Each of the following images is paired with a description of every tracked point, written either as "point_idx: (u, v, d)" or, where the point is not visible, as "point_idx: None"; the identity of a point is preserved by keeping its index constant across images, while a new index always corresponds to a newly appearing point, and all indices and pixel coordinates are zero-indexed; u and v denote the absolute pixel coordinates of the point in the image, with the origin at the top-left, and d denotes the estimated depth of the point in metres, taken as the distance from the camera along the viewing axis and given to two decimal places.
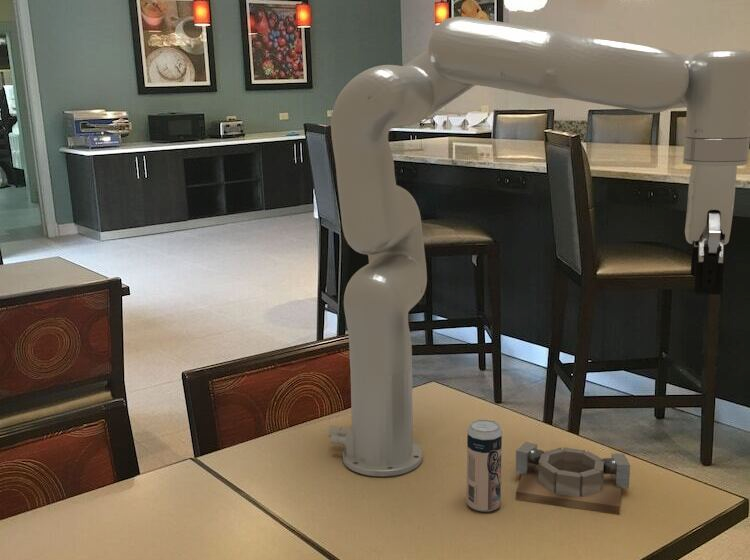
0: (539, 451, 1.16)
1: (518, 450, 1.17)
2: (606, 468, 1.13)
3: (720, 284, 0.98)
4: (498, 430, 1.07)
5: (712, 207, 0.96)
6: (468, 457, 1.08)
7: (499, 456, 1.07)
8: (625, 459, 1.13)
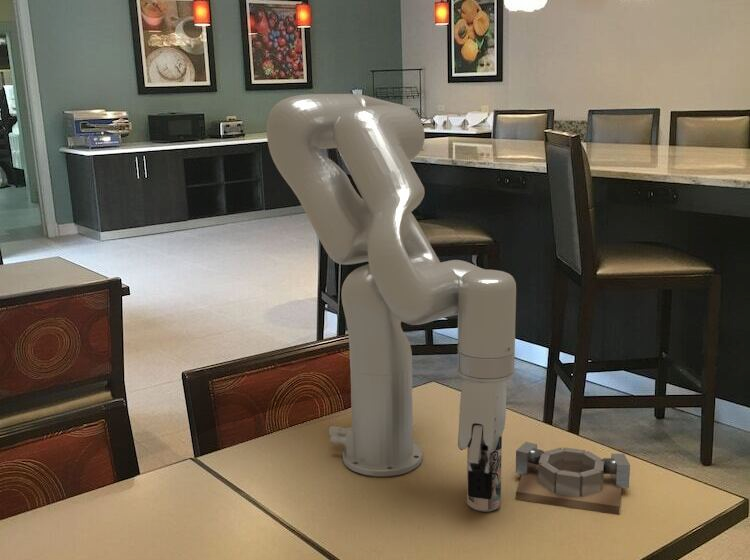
0: (539, 451, 1.16)
1: (518, 450, 1.17)
2: (606, 468, 1.13)
3: (489, 490, 1.06)
4: None
5: (476, 421, 1.03)
6: (468, 457, 1.08)
7: (499, 456, 1.07)
8: (625, 459, 1.13)
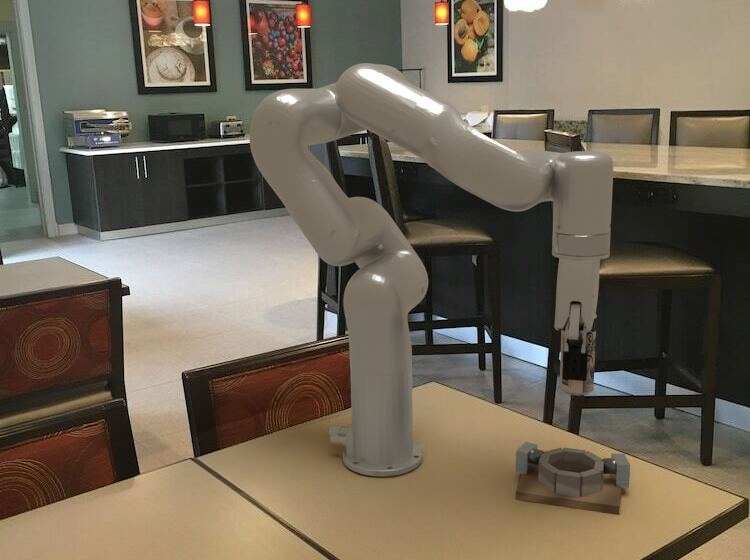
0: (539, 451, 1.16)
1: (518, 450, 1.17)
2: (606, 468, 1.13)
3: (585, 372, 1.07)
4: None
5: (574, 299, 1.03)
6: (562, 340, 1.09)
7: (594, 338, 1.08)
8: (625, 459, 1.13)
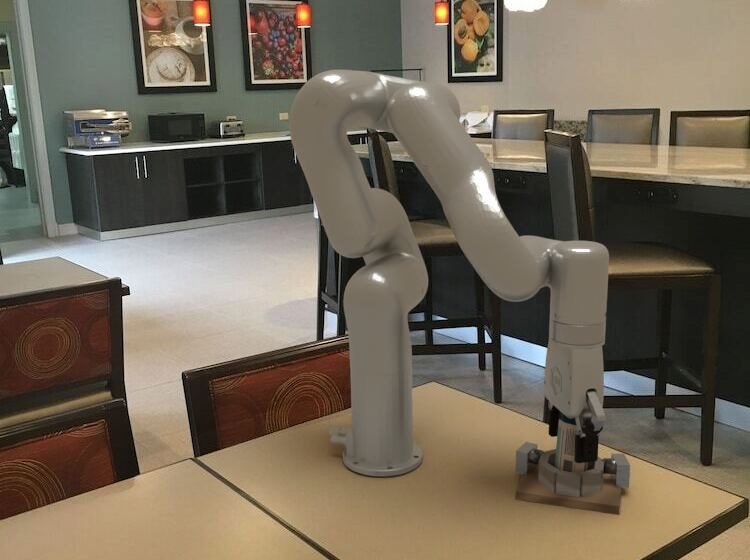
0: (539, 451, 1.16)
1: (518, 450, 1.17)
2: (606, 468, 1.13)
3: (596, 452, 1.09)
4: None
5: (590, 386, 1.06)
6: (565, 433, 1.11)
7: None
8: (625, 459, 1.13)
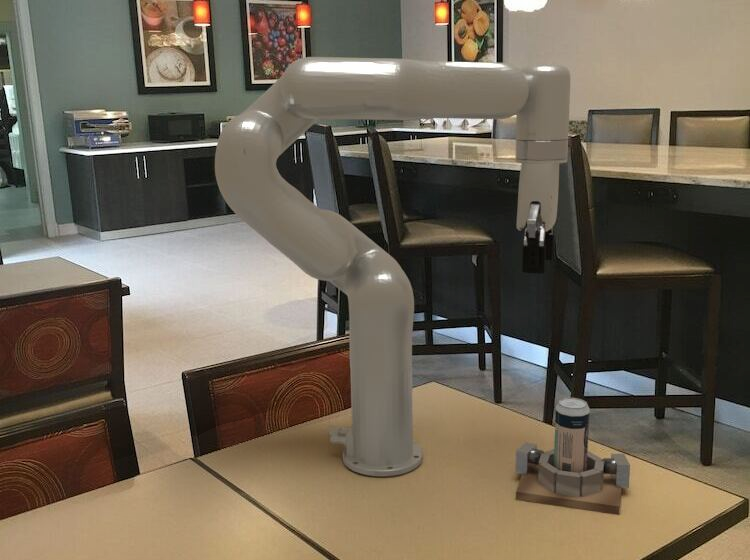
0: (539, 451, 1.16)
1: (518, 450, 1.17)
2: (606, 468, 1.13)
3: (543, 265, 1.15)
4: (587, 404, 1.12)
5: (534, 199, 1.13)
6: (562, 436, 1.11)
7: (588, 429, 1.12)
8: (625, 459, 1.13)
